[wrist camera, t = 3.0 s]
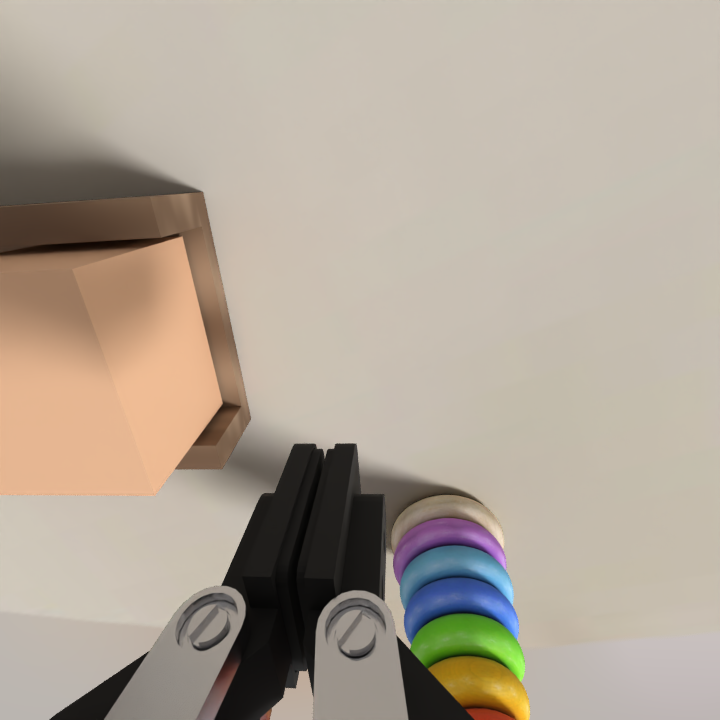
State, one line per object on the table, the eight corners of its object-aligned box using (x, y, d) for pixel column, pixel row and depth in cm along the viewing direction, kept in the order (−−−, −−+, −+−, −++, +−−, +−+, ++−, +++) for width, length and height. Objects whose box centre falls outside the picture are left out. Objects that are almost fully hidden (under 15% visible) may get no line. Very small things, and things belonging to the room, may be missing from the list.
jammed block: (39, 244, 21) (-137, 279, 14) (182, 236, 20) (72, 269, 13) (102, 405, 25) (-10, 494, 18) (222, 403, 25) (154, 495, 18)
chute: (-136, 215, 23) (-268, 225, 18) (203, 191, 21) (150, 197, 16) (-21, 422, 28) (-99, 469, 24) (250, 418, 27) (221, 469, 22)
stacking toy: (510, 555, 30) (661, 1043, 13) (409, 574, 32) (429, 1028, 15) (486, 477, 27) (640, 977, 10) (376, 503, 29) (354, 968, 12)
